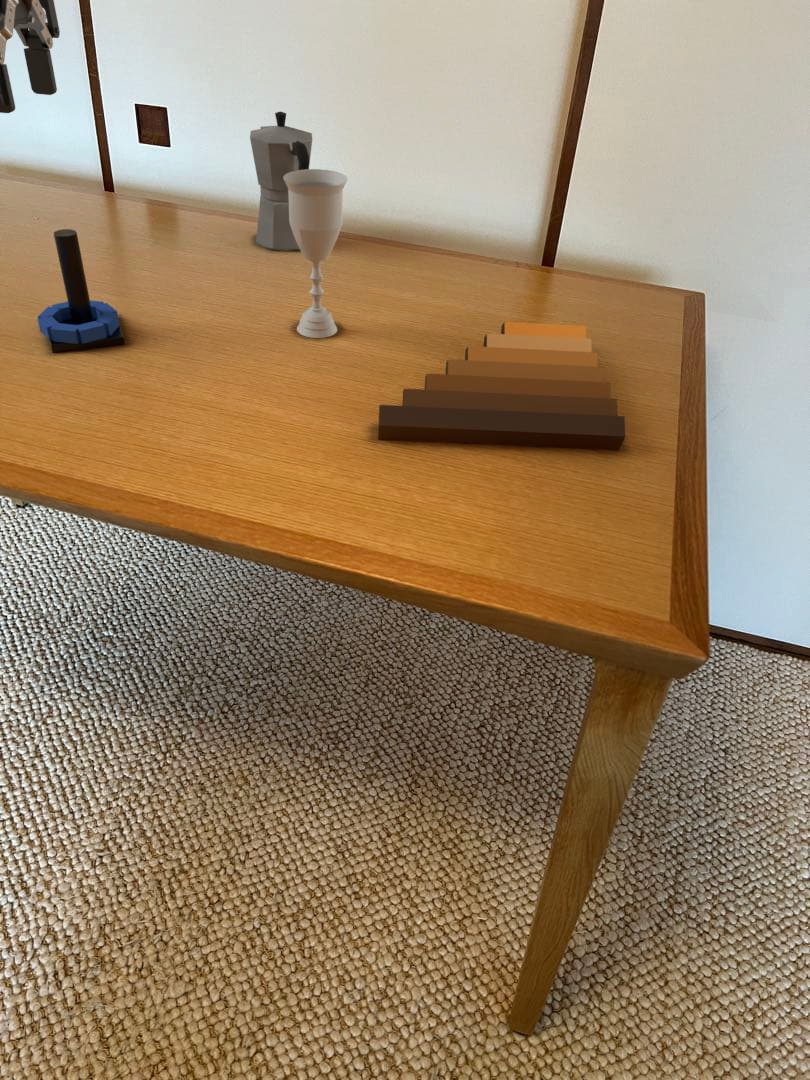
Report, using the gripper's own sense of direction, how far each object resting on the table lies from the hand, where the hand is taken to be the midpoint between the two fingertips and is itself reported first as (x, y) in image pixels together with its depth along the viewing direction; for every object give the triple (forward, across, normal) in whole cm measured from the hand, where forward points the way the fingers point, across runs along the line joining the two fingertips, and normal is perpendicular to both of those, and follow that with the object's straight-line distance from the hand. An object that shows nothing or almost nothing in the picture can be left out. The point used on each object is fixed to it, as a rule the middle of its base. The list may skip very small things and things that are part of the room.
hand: (24, 102), depth 75 cm
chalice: (+26, -15, +24) cm, 39 cm away
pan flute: (+26, -4, +46) cm, 53 cm away
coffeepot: (+26, -44, +15) cm, 53 cm away
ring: (+25, -7, -2) cm, 26 cm away
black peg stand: (+26, -8, -2) cm, 27 cm away
